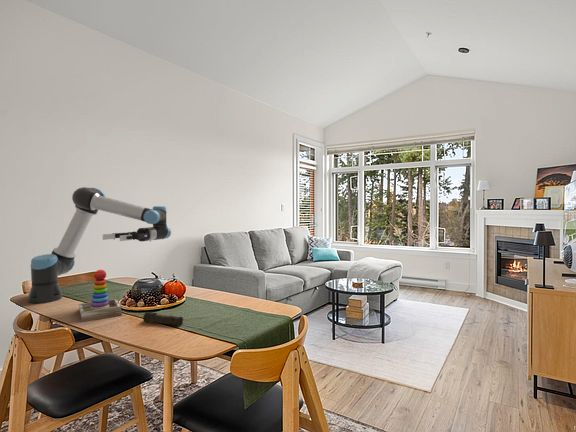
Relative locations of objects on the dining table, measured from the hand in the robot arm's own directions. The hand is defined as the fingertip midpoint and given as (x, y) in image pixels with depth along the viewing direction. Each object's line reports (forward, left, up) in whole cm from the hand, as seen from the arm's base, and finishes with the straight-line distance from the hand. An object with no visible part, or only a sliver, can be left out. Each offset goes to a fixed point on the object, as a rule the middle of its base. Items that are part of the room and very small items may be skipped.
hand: (111, 237), depth 180 cm
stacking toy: (+12, -7, -33) cm, 36 cm away
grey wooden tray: (+12, -7, -34) cm, 37 cm away
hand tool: (+45, +13, -34) cm, 58 cm away
